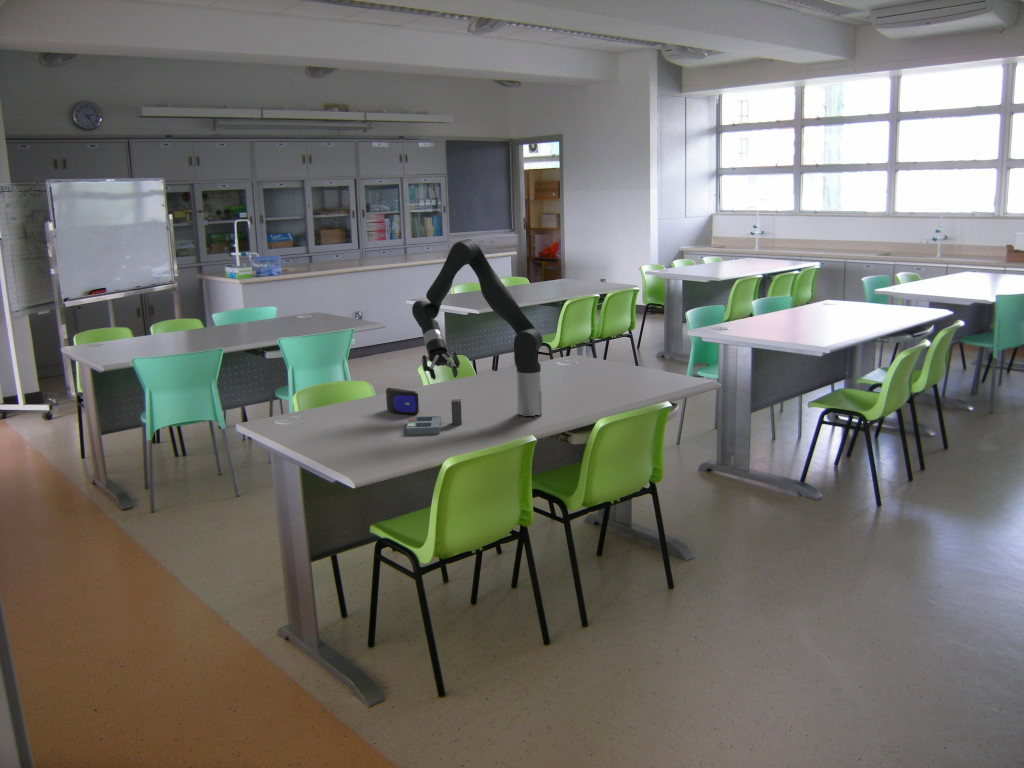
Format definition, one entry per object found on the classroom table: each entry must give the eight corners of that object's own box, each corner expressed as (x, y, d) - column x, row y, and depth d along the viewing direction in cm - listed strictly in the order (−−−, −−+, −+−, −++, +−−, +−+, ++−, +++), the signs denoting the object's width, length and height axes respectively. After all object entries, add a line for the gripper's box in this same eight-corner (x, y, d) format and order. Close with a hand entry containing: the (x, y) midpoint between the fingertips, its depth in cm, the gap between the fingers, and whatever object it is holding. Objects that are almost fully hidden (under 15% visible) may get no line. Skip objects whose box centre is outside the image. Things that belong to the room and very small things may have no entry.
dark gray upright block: (461, 422, 318) (460, 399, 316) (461, 424, 315) (460, 401, 313) (452, 422, 318) (451, 399, 316) (452, 425, 314) (451, 401, 312)
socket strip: (441, 422, 319) (441, 415, 318) (439, 433, 303) (439, 426, 303) (409, 423, 318) (409, 416, 318) (406, 435, 303) (405, 427, 302)
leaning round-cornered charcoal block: (381, 411, 336) (380, 389, 334) (389, 409, 340) (387, 386, 338) (412, 417, 328) (411, 393, 325) (420, 414, 331) (418, 391, 329)
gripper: (419, 339, 325) (429, 373, 317) (454, 336, 330) (464, 370, 323) (415, 350, 331) (425, 384, 323) (450, 347, 336) (460, 380, 329)
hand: (445, 377), depth 323 cm, fingers open, 8 cm apart
